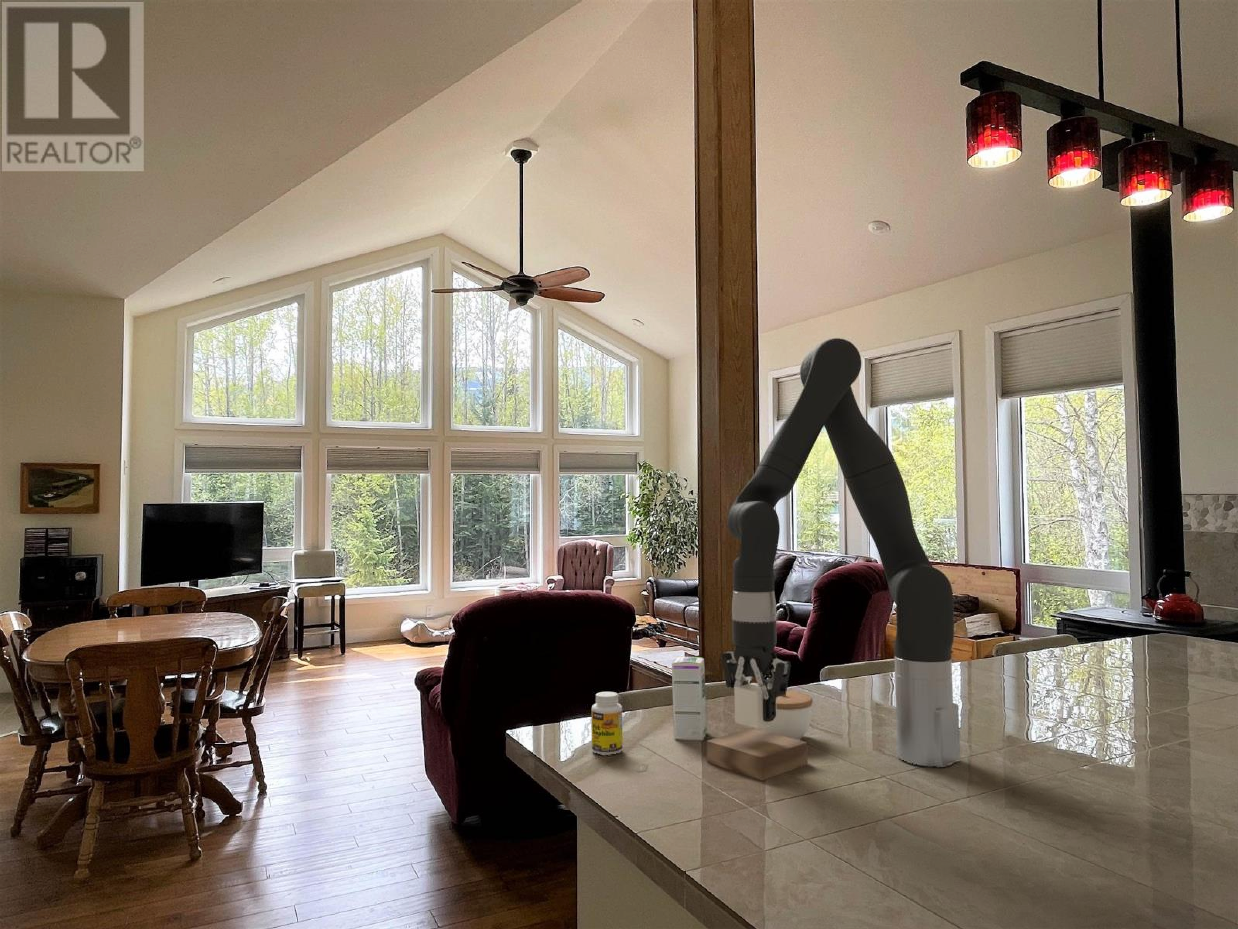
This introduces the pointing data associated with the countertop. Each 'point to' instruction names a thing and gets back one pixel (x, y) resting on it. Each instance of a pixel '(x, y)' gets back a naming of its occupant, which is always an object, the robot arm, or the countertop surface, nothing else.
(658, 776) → the countertop surface
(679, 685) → the syrup box
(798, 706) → the lidded jar
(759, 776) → the walnut block
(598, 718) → the supplement bottle
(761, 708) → the cream block
